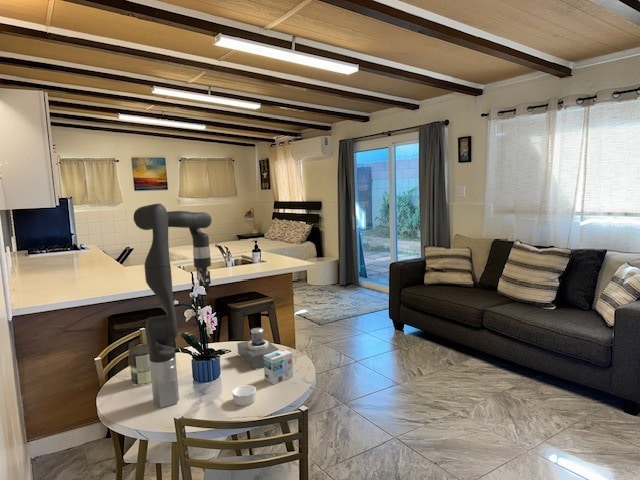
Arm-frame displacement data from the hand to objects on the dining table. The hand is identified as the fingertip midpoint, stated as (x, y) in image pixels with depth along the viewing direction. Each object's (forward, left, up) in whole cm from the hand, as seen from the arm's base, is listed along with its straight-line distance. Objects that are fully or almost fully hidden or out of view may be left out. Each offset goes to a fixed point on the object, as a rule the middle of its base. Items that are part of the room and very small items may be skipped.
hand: (204, 291), depth 199 cm
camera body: (-13, -20, -33) cm, 40 cm away
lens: (-13, -20, -27) cm, 36 cm away
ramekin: (-47, 0, -33) cm, 57 cm away
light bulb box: (-37, -19, -33) cm, 53 cm away
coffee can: (-6, +29, -33) cm, 45 cm away
